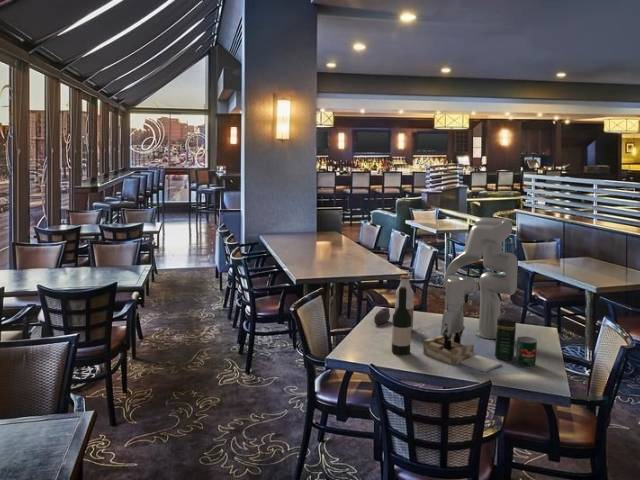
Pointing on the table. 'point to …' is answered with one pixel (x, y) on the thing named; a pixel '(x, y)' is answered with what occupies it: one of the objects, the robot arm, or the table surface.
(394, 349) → the wine bottle
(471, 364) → the ceramic coaster
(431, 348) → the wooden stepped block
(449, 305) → the robot arm
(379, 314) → the perforated stone tool
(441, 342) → the wooden block
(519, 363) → the canned tomato
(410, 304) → the fruit juice
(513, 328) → the coffee jar
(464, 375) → the table surface
